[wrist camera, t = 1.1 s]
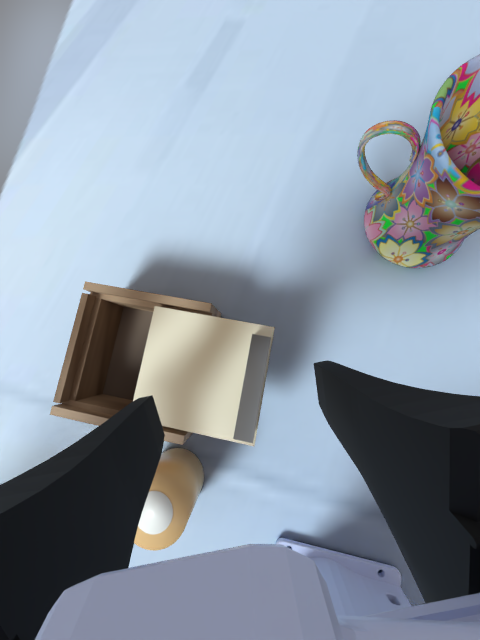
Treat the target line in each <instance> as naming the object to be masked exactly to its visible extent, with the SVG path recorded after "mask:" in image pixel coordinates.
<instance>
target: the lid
mask: <svg viewBox="0 0 480 640" xmlns="http://www.w3.org/2000/svg"><path fill="white" fill-rule="evenodd" d="M274 328H275V327H270V326H265V325H259V324H253V323H248V322H242V321H237V320H231V319H225V318H220V317H214V316H208V315H203V314H197V313H191V312H186V311H180V310H175V309H169V308H163V307H158V306H155V307H154V311H153V316H152V320H151V324H150V329H149V333H148V337H147V342H146V346H145V351H144V355H143V359H142V364H141V368H140V372H139V377H138V381H137V385H136V390H135V394H134V399H133V401H134V400H136V399H138V398H141V397H146V396H151V395H153V398H154V402H155V405H156V408H157V411H158V414H159V418H160V421H161V424H162V426H166V427H170V428H174V429H179V430H183V431H188V432H192V433H197V434H201V435H206V436H210V437H215V438H219V439H224V440H228V441H232V442H237V443H241V444H246V445H250V446H254V445H255V439H256V433H257V427H258V421H259V416H260V410H261V404H262V398H263V392H264V387H265V381H266V375H267V369H268V363H269V357H270V352H271V346H272V340H273V334H274Z"/></svg>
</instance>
